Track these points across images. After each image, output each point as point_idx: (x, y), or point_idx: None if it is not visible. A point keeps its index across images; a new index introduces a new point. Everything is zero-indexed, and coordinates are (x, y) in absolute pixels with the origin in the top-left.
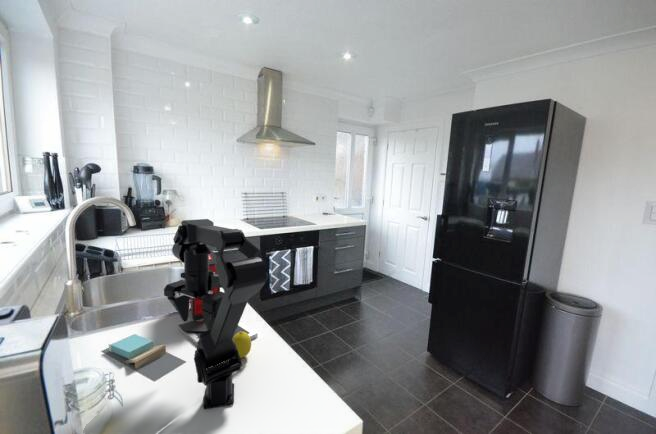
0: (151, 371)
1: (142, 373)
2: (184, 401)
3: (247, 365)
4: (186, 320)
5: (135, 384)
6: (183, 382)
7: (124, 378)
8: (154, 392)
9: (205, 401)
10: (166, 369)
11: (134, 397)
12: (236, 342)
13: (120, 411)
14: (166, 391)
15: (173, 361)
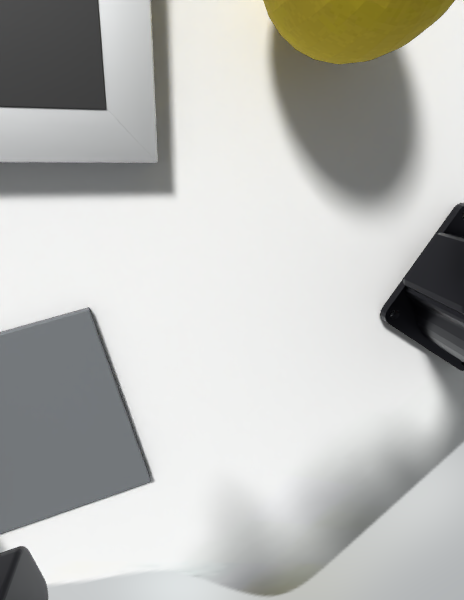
0: (48, 481)
1: (34, 516)
2: (363, 405)
3: None
4: (31, 572)
5: (97, 538)
6: (248, 374)
7: None
8: (217, 484)
9: (449, 354)
10: (87, 420)
11: (188, 544)
12: (426, 22)
13: (230, 582)
14: (249, 446)
15: (26, 370)
